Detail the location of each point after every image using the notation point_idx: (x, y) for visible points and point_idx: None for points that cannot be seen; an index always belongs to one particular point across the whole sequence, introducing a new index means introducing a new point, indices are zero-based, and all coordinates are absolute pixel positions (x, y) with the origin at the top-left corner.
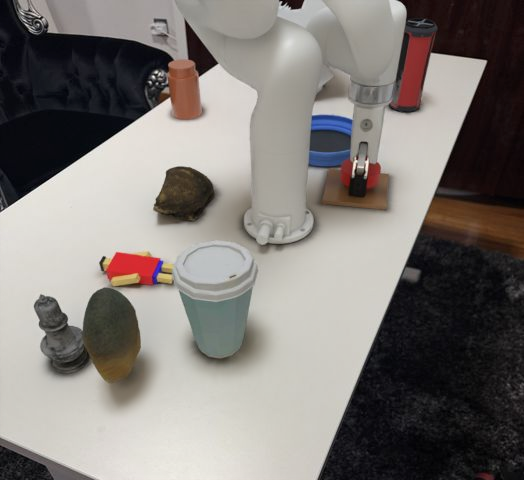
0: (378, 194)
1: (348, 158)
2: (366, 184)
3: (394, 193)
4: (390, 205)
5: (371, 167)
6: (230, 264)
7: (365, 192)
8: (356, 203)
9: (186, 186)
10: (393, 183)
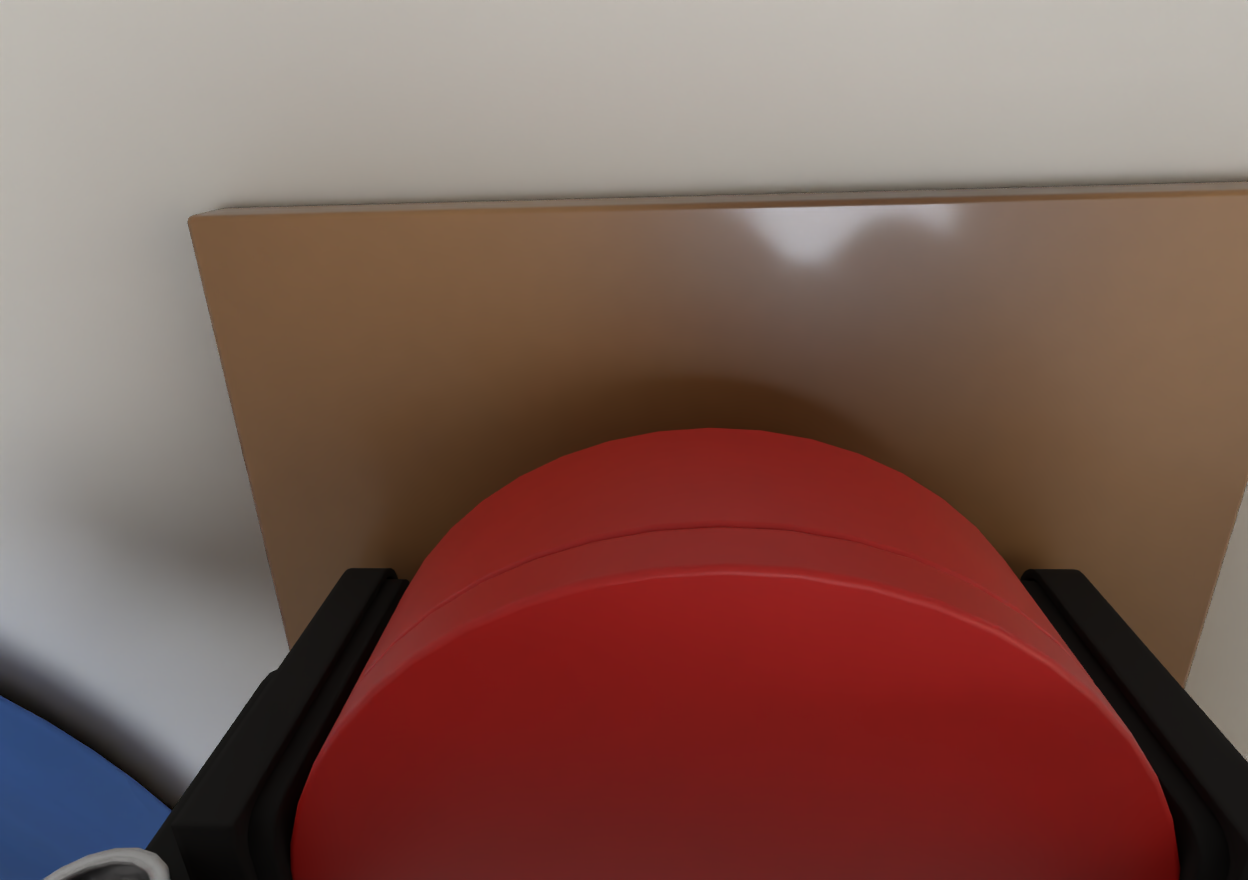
0: (926, 350)
1: (66, 814)
2: (1213, 730)
3: (713, 49)
4: (1126, 102)
5: (722, 768)
6: None
7: (1110, 611)
8: (1195, 644)
9: None
10: (380, 88)
